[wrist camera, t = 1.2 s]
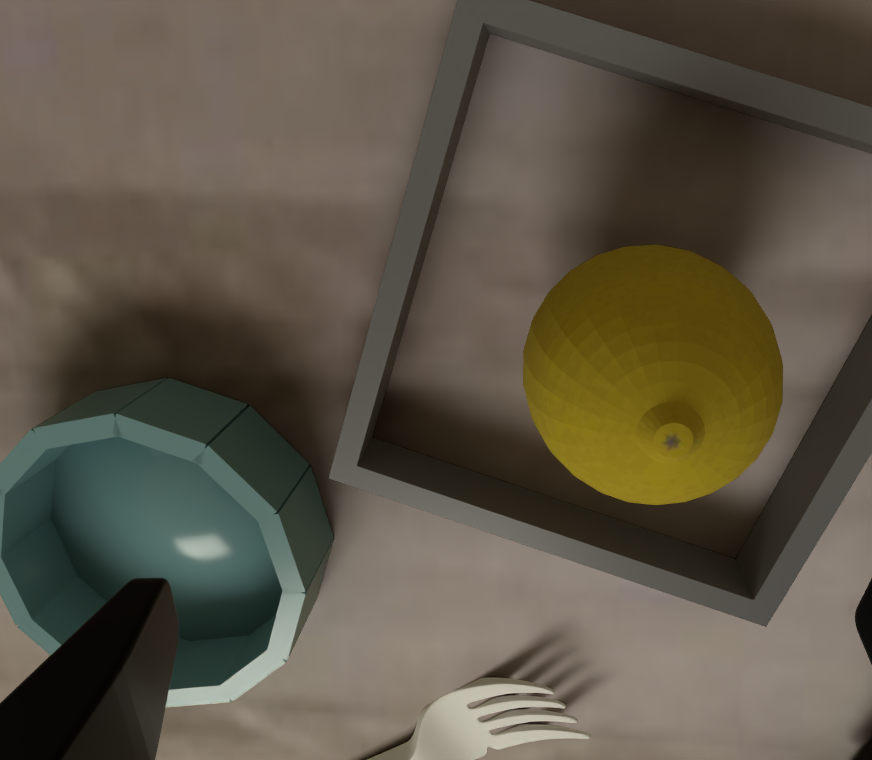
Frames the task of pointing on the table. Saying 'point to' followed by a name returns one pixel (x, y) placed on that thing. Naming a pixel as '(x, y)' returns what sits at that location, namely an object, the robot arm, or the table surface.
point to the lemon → (653, 374)
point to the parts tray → (547, 517)
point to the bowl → (166, 528)
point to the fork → (467, 736)
